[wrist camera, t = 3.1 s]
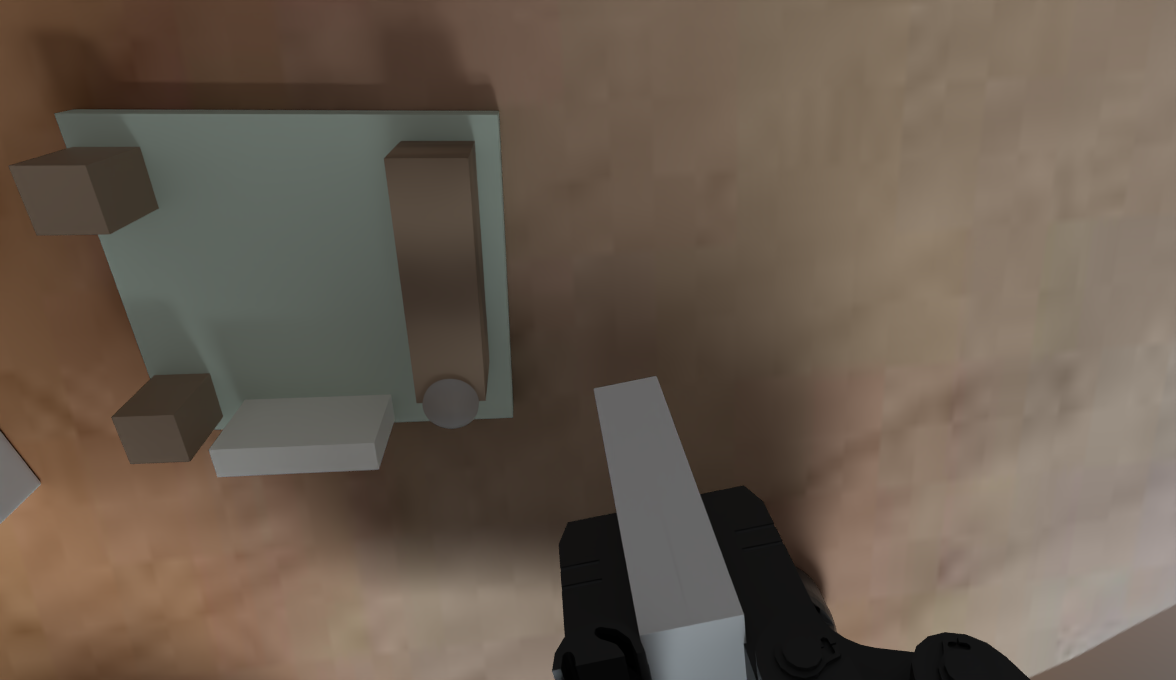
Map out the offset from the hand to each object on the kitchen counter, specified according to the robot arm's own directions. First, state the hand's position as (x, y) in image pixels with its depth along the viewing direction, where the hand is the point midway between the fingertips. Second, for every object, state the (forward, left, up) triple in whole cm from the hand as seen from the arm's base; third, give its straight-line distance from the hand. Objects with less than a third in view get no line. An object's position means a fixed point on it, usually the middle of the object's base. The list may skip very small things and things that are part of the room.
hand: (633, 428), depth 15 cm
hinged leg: (+6, +2, -15) cm, 16 cm away
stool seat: (+12, +2, -16) cm, 20 cm away
